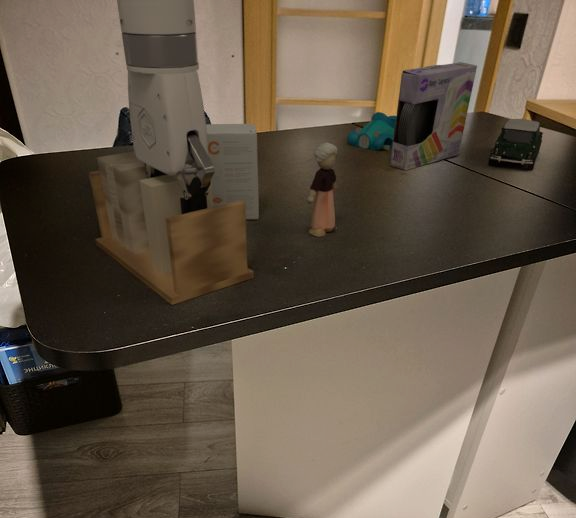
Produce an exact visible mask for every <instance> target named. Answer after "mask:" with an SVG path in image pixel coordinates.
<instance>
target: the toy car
mask: <svg viewBox="0 0 576 518" xmlns="http://www.w3.org/2000/svg"><path fill="white" fill-rule="evenodd" d="M396 116H397V115H387V114H386V113H385V112H381V111H377V112H374V113H372V116H371V119H370V121H369V122H368V123H367V124H366V125H364V126H363V128H362V127H356V129H354V130H351V131H350V132H349V133H348V135H347V137H346V140H347V143H348V145H350V146H355V147H358V148H359V149H360V148H362V149H365V150H373V151H379V150H383V151H386V152H389V151H390V149H391V150H392V144H393V137H394V129H395V123H396Z"/></svg>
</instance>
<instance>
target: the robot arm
mask: <svg viewBox="0 0 576 518" xmlns="http://www.w3.org/2000/svg"><path fill="white" fill-rule="evenodd" d="M116 4H117V10H118V18H119V24H120V32H121V36H122V37H121V39H122V46H123V53H124V59H125V65H126V71H127V94H128V95H127V96H128V111H129V121H130V129H131V137H132V145H133V146H132V147H133V152H134V153H135V155H136V157H137V158H138V159H139V160H140V161H142V162H143V163H144V164H145V166H146V171H145V174H146V177H147V179H148V178H153V177H158V176H163V175H171V176H172V175H177V178H178V181H179V184H180V187H181V190H182V193H183V196H184V197H183V198H180V203H181V212H182V214H186V213H190V212H194V211H199V210H203V209H207V196H206V195H208V194H209V190H208V188H209V186H210V184H211V179H212V177H213V175H214V172H215V169H214V166H213V164H212V162H211V160H210V158H209V157H208V141H207V130H206V124H207V121H206V113H205V106H204V101H203V94H202V89H201V83H200V78H199V73H198V71H199V69H200V65H199V63H200V62H199V52H198V39H197V25H196V12H195V0H116ZM185 164H188V165H190V166H192V167H190V168H185V169H184V166H185ZM193 174H194V175H195V177H194V178H193V179H192V181H191V183H190V185H189V183H188V180H187V177H186V176H188V175H193Z"/></svg>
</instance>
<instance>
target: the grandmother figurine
mask: <svg viewBox="0 0 576 518" xmlns="http://www.w3.org/2000/svg"><path fill="white" fill-rule="evenodd" d="M337 154H338V148H337V146H336V145H334V144H333V143H329V142H324V143H321V144H320V145H319V146H317V148H315V150H314V152H313V156H314V157H315V160H316V162H317V165H318V167H319V169H317V171H316V172H315V174H314V177H313V180H312V182H311V185H310V187H309V191H308V197H307V198H306V202H307V203H308V204H313V205H312V211H311V220H310V227H311V228H310V229H309V230H308V234H310V235H311V236H314V237H317V238H322V237H324V236H326V233H329V232H332V231H333V230H334V228H335V227H336V214H335V201H334V199H335V198H334V191H335V190H337V188H338V184H337V175H336V172H335V170H334V169H333V168H334V166H335V164H336V156H337ZM333 190H334V191H333Z"/></svg>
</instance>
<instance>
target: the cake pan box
mask: <svg viewBox="0 0 576 518" xmlns="http://www.w3.org/2000/svg"><path fill="white" fill-rule="evenodd" d="M477 69H478V65H476V64H471V63H468V62H467V63H466V62H463V61H458V62H454V63H453V62H452V63H446V64H433V65H427V66H424V67H417V68H410V69H409V68H408V69H403V70H402V72H401V77H400V85H399V93H398V100H397V109H396V115H395V116H396V123H395V129H394V137H393V144H392V149H391V154H390V161H389V167H393V168H395V169H399V170H402V171H410V170H412V169H415V168H419V167H422V166H426V165H430V164H434V163H436V162H439V161H442V160H445V159H448V158H452V157H455V156H458V155H459V153H460V149H461V144H462V141H463V136H464V129H465V125H466V120H467V115H468V111H469V107H470V101H471V98H472V92H473V88H474V83H475V79H476V73H477Z"/></svg>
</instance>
